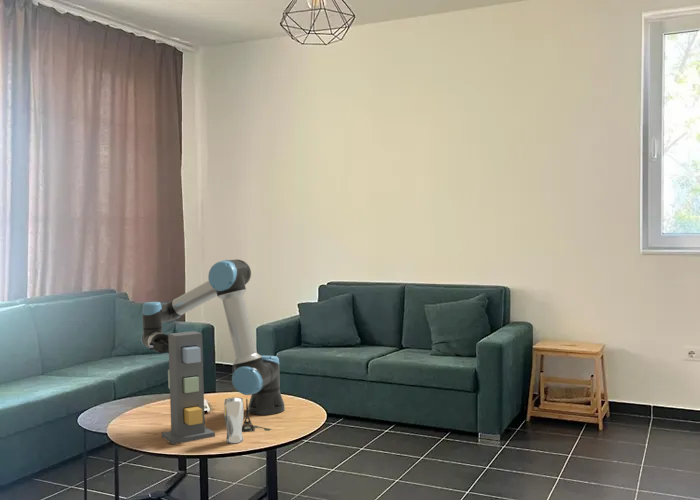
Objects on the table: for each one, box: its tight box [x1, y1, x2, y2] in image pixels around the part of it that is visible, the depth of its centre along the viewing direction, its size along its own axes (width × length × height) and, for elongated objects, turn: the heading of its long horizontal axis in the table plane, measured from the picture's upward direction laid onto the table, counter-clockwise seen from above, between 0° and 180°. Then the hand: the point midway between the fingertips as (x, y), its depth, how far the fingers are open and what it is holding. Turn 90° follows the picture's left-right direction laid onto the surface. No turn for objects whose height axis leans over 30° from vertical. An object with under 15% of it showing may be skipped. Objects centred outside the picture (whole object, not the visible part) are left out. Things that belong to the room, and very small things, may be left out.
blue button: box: [181, 346, 201, 364], centre depth 249 cm, size 16×7×7 cm, turn 32°
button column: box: [161, 330, 216, 445], centre depth 250 cm, size 12×16×38 cm
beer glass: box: [223, 396, 245, 445], centre depth 243 cm, size 7×7×15 cm
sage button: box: [167, 369, 199, 393], centre depth 252 cm, size 16×7×7 cm, turn 32°
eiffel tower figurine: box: [226, 398, 272, 433], centre depth 257 cm, size 15×10×13 cm
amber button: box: [183, 406, 203, 425], centre depth 250 cm, size 16×7×7 cm, turn 32°
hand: (178, 349), depth 256 cm, fingers closed
